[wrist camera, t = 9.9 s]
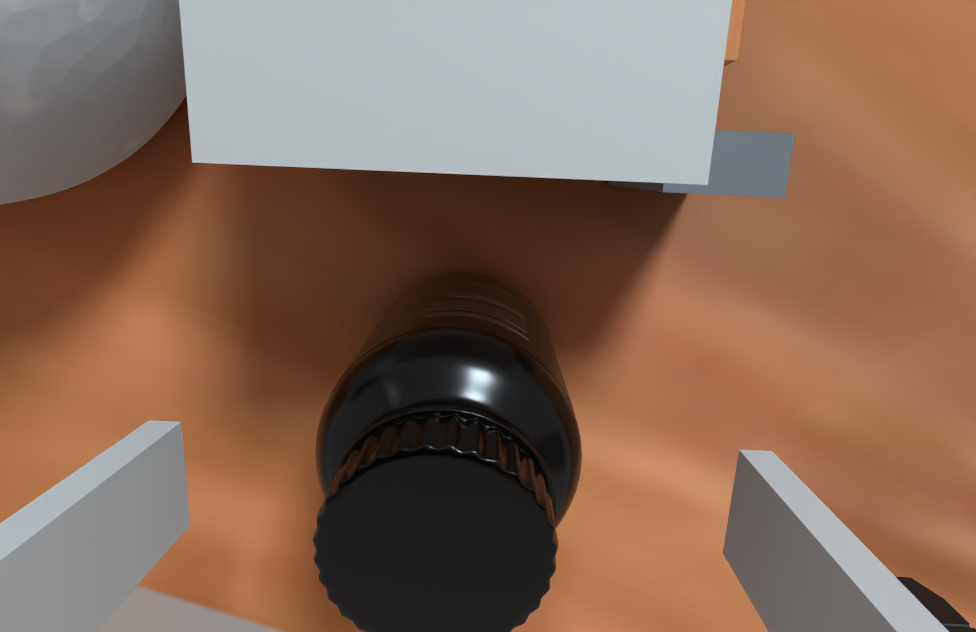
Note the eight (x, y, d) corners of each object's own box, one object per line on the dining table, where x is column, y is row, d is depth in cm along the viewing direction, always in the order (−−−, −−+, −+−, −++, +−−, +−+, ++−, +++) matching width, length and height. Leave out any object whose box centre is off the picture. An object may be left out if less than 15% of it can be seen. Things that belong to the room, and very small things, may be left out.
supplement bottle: (341, 355, 23) (179, 550, 11) (462, 231, 21) (423, 304, 10) (466, 467, 24) (440, 751, 12) (588, 355, 23) (687, 553, 11)
